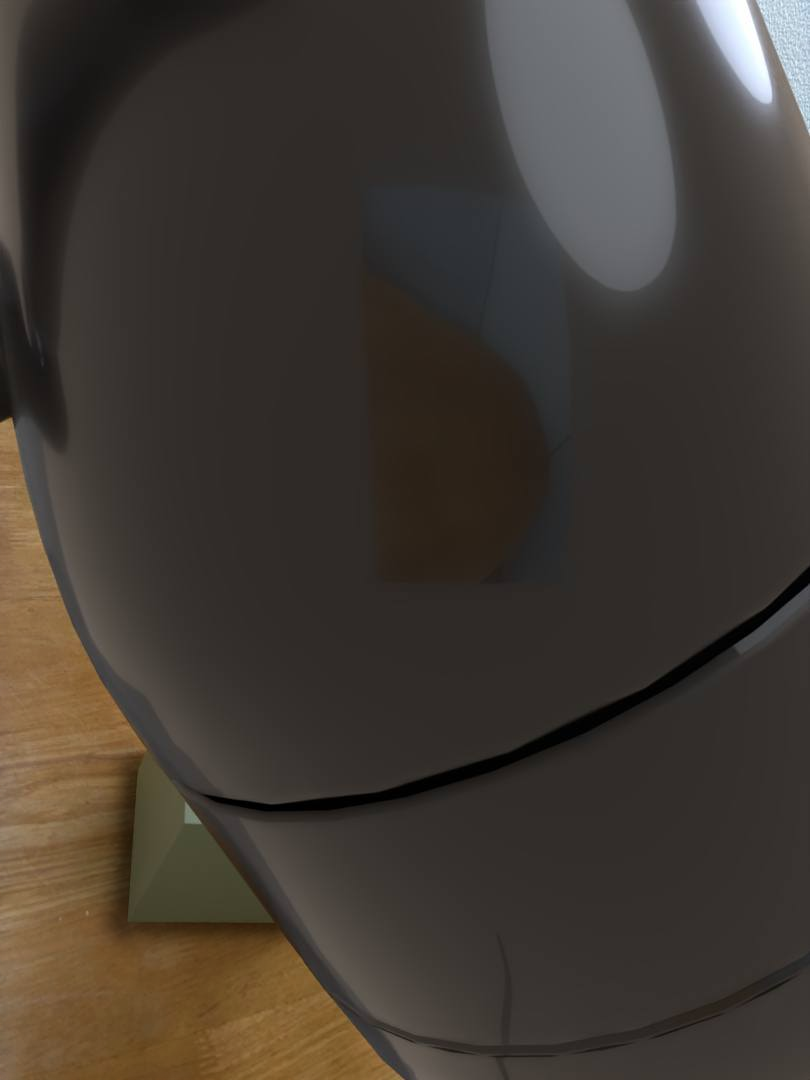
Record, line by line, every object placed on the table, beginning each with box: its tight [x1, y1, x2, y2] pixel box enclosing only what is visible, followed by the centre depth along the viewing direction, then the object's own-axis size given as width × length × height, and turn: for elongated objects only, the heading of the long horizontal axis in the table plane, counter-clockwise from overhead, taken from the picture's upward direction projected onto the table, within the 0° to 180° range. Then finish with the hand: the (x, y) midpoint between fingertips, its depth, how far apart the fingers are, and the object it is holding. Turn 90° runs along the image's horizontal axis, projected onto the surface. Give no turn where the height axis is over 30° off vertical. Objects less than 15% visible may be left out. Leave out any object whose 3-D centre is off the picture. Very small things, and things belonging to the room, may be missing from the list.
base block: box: [127, 750, 275, 924], centre depth 44 cm, size 8×8×12 cm
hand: (272, 334), depth 39 cm, fingers open, 8 cm apart
